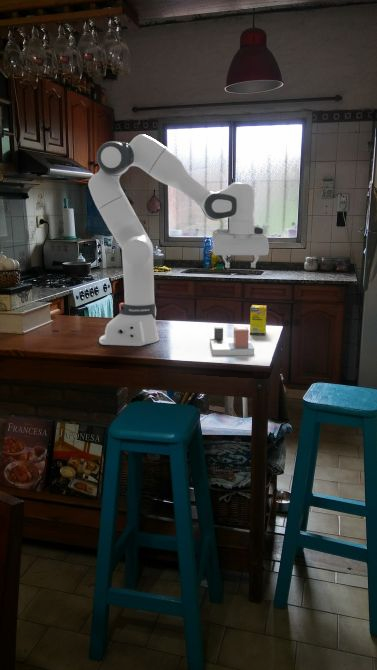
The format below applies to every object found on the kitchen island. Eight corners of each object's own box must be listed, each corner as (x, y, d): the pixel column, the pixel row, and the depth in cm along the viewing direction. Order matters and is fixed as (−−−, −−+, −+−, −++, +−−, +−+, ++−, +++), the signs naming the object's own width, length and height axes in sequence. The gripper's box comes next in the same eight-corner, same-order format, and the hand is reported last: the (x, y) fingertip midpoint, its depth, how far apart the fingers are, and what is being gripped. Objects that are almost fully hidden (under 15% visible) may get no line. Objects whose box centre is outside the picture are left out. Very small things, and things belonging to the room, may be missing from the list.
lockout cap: (235, 347, 183) (235, 329, 182) (233, 344, 188) (234, 326, 186) (248, 347, 183) (248, 329, 182) (246, 344, 188) (247, 326, 186)
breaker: (214, 339, 194) (214, 328, 194) (214, 338, 197) (214, 327, 196) (223, 339, 195) (223, 328, 194) (222, 338, 197) (222, 327, 196)
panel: (212, 355, 182) (212, 348, 181) (209, 343, 199) (210, 337, 198) (254, 354, 182) (254, 348, 182) (247, 342, 199) (247, 336, 198)
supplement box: (265, 335, 211) (265, 307, 208) (249, 334, 212) (250, 307, 209) (266, 332, 216) (266, 305, 214) (251, 331, 217) (251, 304, 215)
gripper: (212, 229, 191) (212, 268, 194) (270, 229, 191) (269, 268, 194) (212, 228, 197) (211, 266, 200) (267, 229, 197) (266, 266, 200)
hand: (240, 267), depth 197 cm, fingers open, 8 cm apart
